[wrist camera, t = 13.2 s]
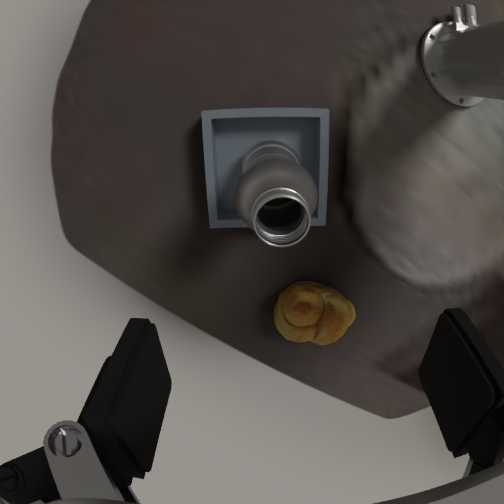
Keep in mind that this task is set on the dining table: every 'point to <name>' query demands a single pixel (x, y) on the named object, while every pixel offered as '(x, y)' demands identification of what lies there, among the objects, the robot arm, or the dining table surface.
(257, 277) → the dining table surface
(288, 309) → the bread roll
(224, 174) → the tray
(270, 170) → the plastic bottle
